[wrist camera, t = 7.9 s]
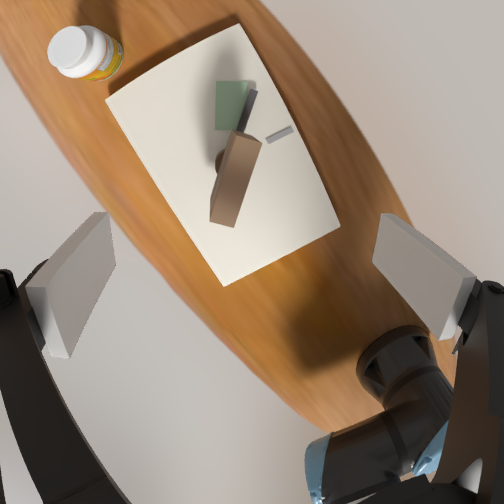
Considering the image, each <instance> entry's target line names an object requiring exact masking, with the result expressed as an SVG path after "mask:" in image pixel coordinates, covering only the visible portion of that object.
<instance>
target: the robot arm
mask: <svg viewBox="0 0 504 504" xmlns="http://www.w3.org/2000/svg"><path fill="white" fill-rule="evenodd" d="M372 263H373V264H374V265H375V266H376V268H377V269H378V270H379V271H380V272H381V273H382V274H383V275H384V276H385V278H386V279H387V280H388V281H389V282H390V283H391V284H392V286H393V287H394V288H395V289H396V290H397V291H398V292H399V294H400V295H401V296H402V297H403V298H404V299H405V301H406V302H407V303H408V304H409V305H410V307H411V308H412V309H413V310H414V311H415V313H416V314H417V315H418V316H419V317H420V319H421V320H422V321H423V322H424V323H425V325H426V326H427V327H428V328H429V330H430V331H431V332H432V333H433V335H434V336H435V337H436V338H437V340H438V341H440V340H445V339H450V338H452V337H453V335H454V333H455V330H456V328H457V326H458V325H459V326H460V327H461V329H462V330H463V331H462V333H461V336H460V337H459V339H458V342H457V344H456V346H455V348H454V350H453V352H452V354H455V352H456V351H457V350H458V358H457V368H456V377H455V384H454V388H453V387H452V385H451V384H450V383H449V381H448V380H447V378H446V377H445V375H444V374H443V373H442V371H441V370H440V368H439V367H438V364H437V360H436V356H435V352H434V349H433V345H432V342H431V340H430V338H429V337H428V335H427V334H426V333H425V331H424V330H423V329H421V328H419V327H416V326H405V327H400V328H397V329H395V330H392V331H390V332H388V333H386V334H385V335H383V336H382V337H380V338H379V339H377V340H376V341H375V342H374V343H373V344H372V345H370V346H369V347H368V349H367V350H366V351H365V352H364V354H363V355H362V356H361V358H360V360H359V362H358V365H357V370H356V372H357V377H358V379H359V381H360V383H361V385H362V387H363V388H364V389H365V390H366V391H367V392H368V393H369V394H371V395H372V396H373V397H374V398H375V399H376V400H377V401H378V402H380V403H381V404H382V406H383V408H384V410H385V411H383V412H381V413H379V414H377V415H375V416H372V417H370V418H368V419H366V420H363V421H361V422H359V423H357V424H354V425H352V426H349V427H347V428H344V429H342V430H339V431H336V432H331V433H330V434H329V435H327V436H324V437H322V438H320V439H317V440H315V441H313V442H312V443H310V444H309V445H308V447H307V449H306V453H305V474H306V480H307V486H308V490H309V491H310V496H311V499H312V502H313V504H504V287H503V286H502V285H501V284H499V283H497V282H493V281H483V282H482V283H481V282H480V281H479V280H478V279H477V276H475V275H474V274H473V273H472V272H471V271H469V270H468V269H467V268H466V267H464V266H463V265H462V264H461V263H459V262H458V261H457V260H456V259H454V258H453V257H452V256H451V255H449V254H448V253H447V252H445V251H444V250H443V249H442V248H440V247H439V246H438V245H436V244H435V243H434V242H432V241H431V240H430V239H428V238H427V237H426V236H424V235H423V234H421V233H420V232H419V231H417V230H416V229H415V228H413V227H412V226H411V225H409V224H408V223H406V222H405V221H404V220H402V219H401V218H399V217H398V216H396V215H395V214H390V213H381V218H380V223H379V229H378V234H377V239H376V244H375V249H374V254H373V258H372ZM115 266H116V262H115V256H114V249H113V242H112V234H111V227H110V218H109V212H94V213H93V214H92V215H91V216H90V217H89V218H88V219H87V220H86V221H85V222H84V223H83V224H82V225H81V226H80V227H79V228H78V229H77V230H76V231H75V232H74V233H73V234H72V235H71V236H70V237H69V238H68V239H67V240H66V241H65V242H64V243H63V245H61V247H60V248H59V249H58V250H57V251H56V252H55V253H54V254H53V255H52V256H51V257H50V258H49V259H47V260H45V261H43V262H42V263H40V264H39V265H37V267H36V268H35V269H34V270H33V271H32V273H30V274H29V275H28V277H27V279H25V280H24V281H23V282H22V283H21V285H20V286H19V287H18V288H17V287H16V283H15V280H14V277H13V273H12V272H11V271H10V270H7V269H0V390H1V393H2V397H3V401H4V404H5V408H6V411H7V414H8V418H9V420H10V424H11V426H12V430H13V433H14V435H15V438H16V441H17V444H18V446H19V449H20V452H21V454H22V457H23V459H24V462H25V464H26V466H27V469H28V471H29V473H30V475H31V478H32V480H33V482H34V484H35V486H36V488H37V490H38V492H39V494H40V496H41V499H42V501H43V504H131V502H130V501H129V500H128V499H127V497H126V496H125V495H124V493H123V492H122V491H121V490H120V488H119V487H118V486H117V484H116V483H115V482H114V480H113V479H112V477H111V476H110V475H109V473H108V472H107V470H106V469H105V468H104V466H103V465H102V463H101V462H100V460H99V459H98V457H97V456H96V454H95V453H94V451H93V450H92V448H91V446H90V445H89V443H88V442H87V440H86V438H85V437H84V435H83V433H82V432H81V430H80V428H79V427H78V425H77V423H76V421H75V420H74V418H73V416H72V414H71V412H70V411H69V409H68V407H67V405H66V403H65V401H64V399H63V397H62V395H61V394H60V391H59V389H58V387H57V385H56V383H55V381H54V379H53V377H52V375H51V373H50V370H49V368H48V366H47V364H46V361H45V359H44V357H43V355H42V352H41V351H42V349H43V347H44V345H45V343H46V346H47V348H48V351H49V353H50V355H51V357H58V358H66V359H70V357H71V355H72V352H73V350H74V348H75V346H76V343H77V342H78V339H79V337H80V335H81V333H82V331H83V329H84V327H85V325H86V322H87V320H88V318H89V316H90V314H91V312H92V310H93V308H94V306H95V304H96V302H97V300H98V298H99V296H100V294H101V293H102V291H103V289H104V287H105V285H106V283H107V281H108V279H109V277H110V276H111V274H112V272H113V270H114V268H115ZM436 469H437V471H436V474H435V476H434V478H433V480H432V481H431V483H429V481H428V479H427V477H426V474H429V473H431V472H433V471H435V470H436ZM411 471H412V472H413V474H414V475H416V477H413V478H411V479H408V480H405V481H403V482H401V480H400V477H401V476H403V475H405V474H407V473H409V472H411ZM0 504H6V501H5V496H4V490H3V484H2V476H1V468H0Z"/></svg>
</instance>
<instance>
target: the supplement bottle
mask: <svg viewBox="0 0 504 504" xmlns="http://www.w3.org/2000/svg"><path fill="white" fill-rule="evenodd" d="M48 58H49V61H50V62H51V64H52V65H53V66H55V67H57V69H58V70H59V72H60V73H62V74H63V75H65V76H67V77H70V78H77V79H83V80H90V81H103V80H106V79H108V78H110V77H111V76H113V75H114V74H115V73H116V72H117V70H118V69H119V68H120V66H121V64H122V61H123V49H122V46H121V45H120V43H119V42H118V41H117V40H115V39H114V38H112V37H111V36H109V35H107V34H106V33H104V32H102V31H101V30H99V29H98V28H95V27H93V26H88V25H84V26H78V27H77V26H69V27H66V28H63V29H62V30H60V31H59V32H57V33H56V34H55V36H54V37H53V38H52V40H51V42H50V44H49V47H48Z"/></svg>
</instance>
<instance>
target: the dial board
mask: <svg viewBox="0 0 504 504" xmlns="http://www.w3.org/2000/svg"><path fill="white" fill-rule="evenodd" d="M250 89H253V90H256V91H258V94H257V96H256V99H255V102H254V105H253V108H252V111H251V114H250V117H249V119H248V122H247V125H246V128H245V131H244V133H246V134H249V135H252V136H253V137H255V138H256V139H257V140H259V141H260V142H261V143H262V146H261V149H260V152H259V155H258V158H257V161H256V164H255V167H254V170H253V172H252V175H251V178H250V181H249V184H248V187H247V190H246V193H245V196H244V199H243V202H242V205H241V208H240V211H239V214H238V217H237V220H236V223H235V226H234V228H232V227H228V226H224V225H220V224H216V223H212V222H209V220H210V197H211V194H212V190H213V187H214V184H215V180H216V177H217V173H216V170H215V159H216V156H217V154H218V153H219V152H220V151H221V150H223V149H226V145H227V142H228V139H229V136H230V133H231V130H236V129H237V126H238V123H239V120H240V117H241V114H242V111H243V108H244V105H245V102H246V99H247V96H248V94H249V91H250ZM105 101H106V103H107V105H108V106H109V108H110V110H111V112H112V113H113V115H114V117H115V118H116V120H117V122H118V123H119V125H120V127H121V128H122V130H123V132H124V133H125V135H126V137H127V138H128V140H129V142H130V143H131V145H132V146H133V148H134V150H135V151H136V153H137V155H138V156H139V158H140V159H141V161H142V163H143V164H144V166H145V167H146V169H147V171H148V172H149V174H150V175H151V177H152V179H153V180H154V182H155V183H156V185H157V187H158V188H159V190H160V191H161V193H162V194H163V196H164V198H165V199H166V201H167V202H168V204H169V205H170V207H171V208H172V210H173V211H174V213H175V215H176V216H177V218H178V219H179V221H180V222H181V224H182V225H183V227H184V228H185V230H186V231H187V233H188V234H189V236H190V237H191V239H192V240H193V242H194V243H195V245H196V246H197V248H198V249H199V251H200V252H201V254H202V255H203V257H204V258H205V260H206V261H207V263H208V264H209V266H210V267H211V269H212V270H213V272H214V273H215V275H216V276H217V278H218V279H219V280H220V282H221V283H222V285H223V286H224V287H225V286H227V285H229V284H231V283H232V282H234V281H236V280H238V279H240V278H242V277H244V276H246V275H248V274H250V273H252V272H254V271H256V270H258V269H260V268H262V267H264V266H266V265H268V264H270V263H272V262H274V261H275V260H277V259H279V258H281V257H283V256H285V255H287V254H289V253H291V252H293V251H295V250H297V249H299V248H301V247H302V246H304V245H306V244H308V243H310V242H312V241H314V240H316V239H318V238H320V237H322V236H324V235H325V234H327V233H329V232H331V231H333V230H335V229H337V228H339V227H341V225H340V223H339V221H338V218H337V216H336V213H335V211H334V209H333V206H332V204H331V201H330V199H329V197H328V195H327V192H326V190H325V188H324V185H323V183H322V181H321V179H320V176H319V174H318V172H317V170H316V168H315V165H314V163H313V161H312V159H311V157H310V155H309V152H308V150H307V148H306V146H305V144H304V142H303V140H302V138H301V136H300V134H299V132H298V130H297V128H296V126H295V124H294V122H293V120H292V118H291V116H290V114H289V112H288V110H287V108H286V106H285V104H284V102H283V100H282V98H281V96H280V94H279V92H278V90H277V89H276V87H275V85H274V83H273V81H272V79H271V78H270V76H269V74H268V72H267V70H266V68H265V67H264V65H263V63H262V61H261V60H260V58H259V56H258V54H257V53H256V51H255V49H254V47H253V46H252V44H251V42H250V41H249V39H248V37H247V35H246V34H245V32H244V30H243V29H242V27H241V26H240V24H236V25H234V26H232V27H230V28H227V29H225V30H223V31H221V32H219V33H217V34H215V35H212V36H210V37H208V38H206V39H204V40H202V41H200V42H198V43H196V44H195V45H193V46H191V47H189V48H187V49H185V50H183V51H181V52H180V53H178V54H176V55H174V56H172V57H171V58H169V59H167V60H165V61H164V62H162V63H160V64H159V65H157V66H155V67H154V68H152V69H150V70H149V71H147V72H146V73H144V74H142V75H141V76H139V77H138V78H136V79H135V80H133V81H132V82H130V83H129V84H127V85H126V86H124V87H123V88H121V89H120V90H118V91H117V92H115V93H114V94H113V95H111V96H110V97H108V98H107V99H106V100H105Z"/></svg>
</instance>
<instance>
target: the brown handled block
mask: <svg viewBox="0 0 504 504" xmlns="http://www.w3.org/2000/svg"><path fill="white" fill-rule="evenodd" d="M257 94H258V91H256V90H253V89H250V91H249V94H248V96H247V99H246V102H245V105H244V108H243V111H242V114H241V117H240V120H239V123H238V126H237V129H236V130H231V133H230V136H229V139H228V142H227V145H226V149H223V150H221V151H220V152H219V153H218V154H217V156H216V159H215V170H216V173H217V177H216V180H215V184H214V187H213V190H212V194H211V197H210V220H209V222H212V223H216V224H220V225H224V226H228V227H232V228H234V226H235V223H236V220H237V217H238V214H239V211H240V208H241V205H242V202H243V199H244V196H245V193H246V190H247V187H248V184H249V181H250V178H251V175H252V172H253V170H254V167H255V164H256V161H257V158H258V155H259V152H260V149H261V146H262V143H261V142H260V141H259V140H257V139H256V138H255V137H253V136H252V135H249V134H246V133H244V131H245V128H246V125H247V122H248V119H249V117H250V114H251V111H252V108H253V105H254V102H255V99H256V96H257Z"/></svg>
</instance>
